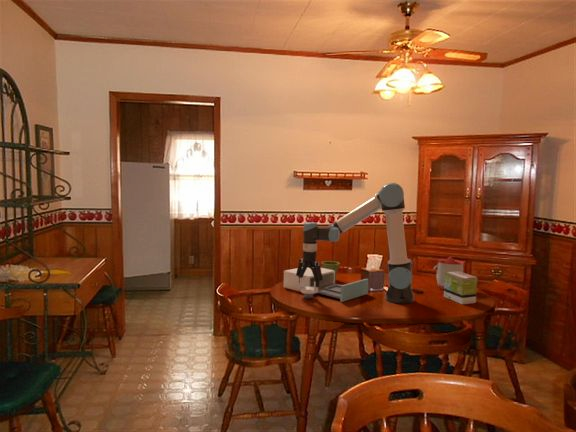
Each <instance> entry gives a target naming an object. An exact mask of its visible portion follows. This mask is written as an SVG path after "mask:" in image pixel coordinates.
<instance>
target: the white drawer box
mask: <svg viewBox="0 0 576 432" xmlns="http://www.w3.org/2000/svg"><path fill="white" fill-rule="evenodd" d="M302 268H303V267H302ZM313 268H314V267H313ZM320 268H321V273H322V279H323V280H321V281H319V287H320V286H324V285H328V284H332V283H335V284H336V279H335V271H334V270H330V269H325V268H323V267H320ZM297 269H298V267H297V268H292V269H286V270H283V288H284V289H285V288H286V289H289V290H291V291H292V290H293V291H296V292H301V290H300V283H299V277H298V276H296V273H297ZM303 276H304V287H314V281H315V278H314V275H313V273H312V270H311V269H310V268H307V269H306V271H305V273H304V275H303ZM301 293H302V292H301Z"/></svg>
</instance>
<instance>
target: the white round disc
mask: <svg viewBox="0 0 576 432" xmlns="http://www.w3.org/2000/svg"><path fill="white" fill-rule="evenodd" d="M301 293H302V294H303V295H304V294H313V295H314V294H315V293H314V287H302V288H301Z"/></svg>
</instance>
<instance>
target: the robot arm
mask: <svg viewBox="0 0 576 432" xmlns="http://www.w3.org/2000/svg"><path fill="white" fill-rule="evenodd" d="M404 197H405V193H404V190H403V188H402V186H401V185H400V184H399V183H396V182H389V183H385V185H383V186H382V187H381V188H380V190H379V191H378V192H376V193H375V194H374V196H373V197H372V198H370V199H369V200H367V201H365V202H364V203H362V204H361V205H358V206H357V207H356V208H354V209H353V210H352V211H350V212H348V213H347V214H345V215H343V216H342V217H340V218H338V219H337V220H335V221H334V222H332V223H330V224H329V225H327V226H318V223H317V222H314V221H312V222H310V221H309V222H305V223H303V230H302V232H303V234H302V235H303V236H302V250H303V251H302V258H299V259H298V266H297V268H298V269H297V273H296V276H298V277H299V283H300V290H301V288H302V287H304V276H303V275H304V273H305V271H306V269H307V268H310V269H311V270H312V273H313V275H314V278H315V281H314V294H319V293H318V287H319V281H321V280H323V279H322V273H321V268H322V267H321V264H322V263H321V262H320V261H317V253H318V252H317V249H318V241H323V242H338V241H339V240H340V235H341V234H343V233H345V232H346V231H348V230H350V229H351V228H353V227H354V226H355V225H357V224H359V223H361V222H362V221H364V220H365V219H367V218H369V217H370V216H372V215H374V214H376V213H377V212H378V211H380V210H381V211H382V212H383V213H384V214H385V224H386V233H387V243H388V253H389V260H388V261H387V268H388V269H387V270H388V278H387V279H388V282H389V286H388V288H387V291H386V292H385V300H386V301H388V302H390V303H393V304H405V305H406V304H412V303H414V302H415V301H414V299H415V296H414V293H413V288H412V282H413V279H414V278H413V260H412V259H410V258H408V255H407V253H408V252H407V244H406V237H405V236H406V235H405V226H404V216H403V211H404V210H405V209H406V207H405V199H404ZM302 267H303V268H302ZM313 267H314V268H313Z"/></svg>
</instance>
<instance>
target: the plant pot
mask: <svg viewBox="0 0 576 432" xmlns="http://www.w3.org/2000/svg"><path fill="white" fill-rule="evenodd" d="M320 263H321V264H322V265H321V266H322V268H325V269H330V270H334V271H335V280H337V274H338V269H339V266H340V264H341V263H340V262H338V261H333V260H328V261H327V260H325V261H321V262H320Z"/></svg>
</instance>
